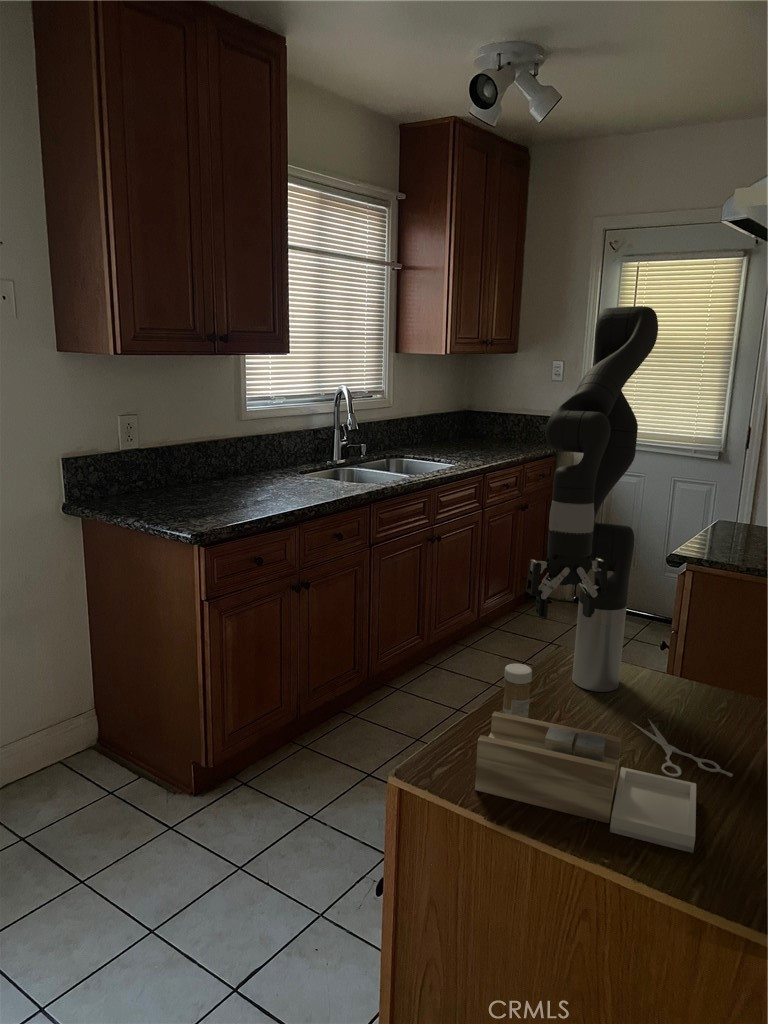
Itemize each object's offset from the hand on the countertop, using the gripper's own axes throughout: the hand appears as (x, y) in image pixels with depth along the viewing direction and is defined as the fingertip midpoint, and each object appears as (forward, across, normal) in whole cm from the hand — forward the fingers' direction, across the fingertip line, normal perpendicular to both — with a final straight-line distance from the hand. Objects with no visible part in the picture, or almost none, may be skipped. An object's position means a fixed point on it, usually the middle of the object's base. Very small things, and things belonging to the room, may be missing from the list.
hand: (564, 617), depth 134 cm
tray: (+22, -3, +27) cm, 35 cm away
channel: (+22, +10, +18) cm, 30 cm away
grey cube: (+16, +9, +19) cm, 27 cm away
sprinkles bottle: (+21, +10, +3) cm, 23 cm away
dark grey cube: (+16, +6, +22) cm, 28 cm away
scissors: (+21, -16, +10) cm, 29 cm away
